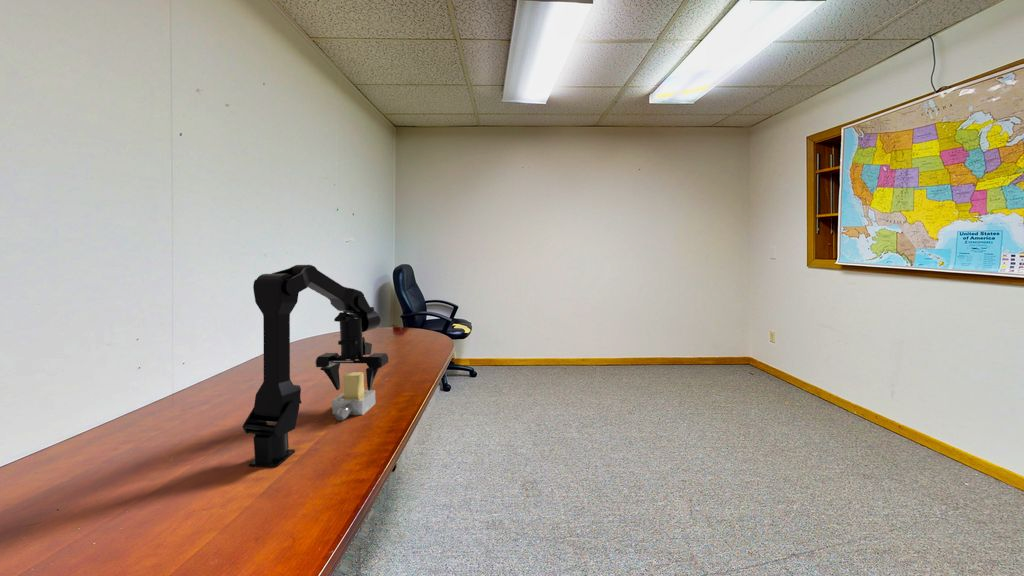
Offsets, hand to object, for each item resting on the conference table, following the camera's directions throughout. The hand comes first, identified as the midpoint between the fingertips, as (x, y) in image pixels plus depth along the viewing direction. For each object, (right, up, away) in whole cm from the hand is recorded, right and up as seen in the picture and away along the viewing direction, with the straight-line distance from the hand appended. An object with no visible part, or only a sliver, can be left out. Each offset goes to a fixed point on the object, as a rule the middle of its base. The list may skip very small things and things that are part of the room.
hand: (353, 389), depth 113 cm
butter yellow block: (0, -6, +1) cm, 6 cm away
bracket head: (0, -6, 0) cm, 6 cm away
